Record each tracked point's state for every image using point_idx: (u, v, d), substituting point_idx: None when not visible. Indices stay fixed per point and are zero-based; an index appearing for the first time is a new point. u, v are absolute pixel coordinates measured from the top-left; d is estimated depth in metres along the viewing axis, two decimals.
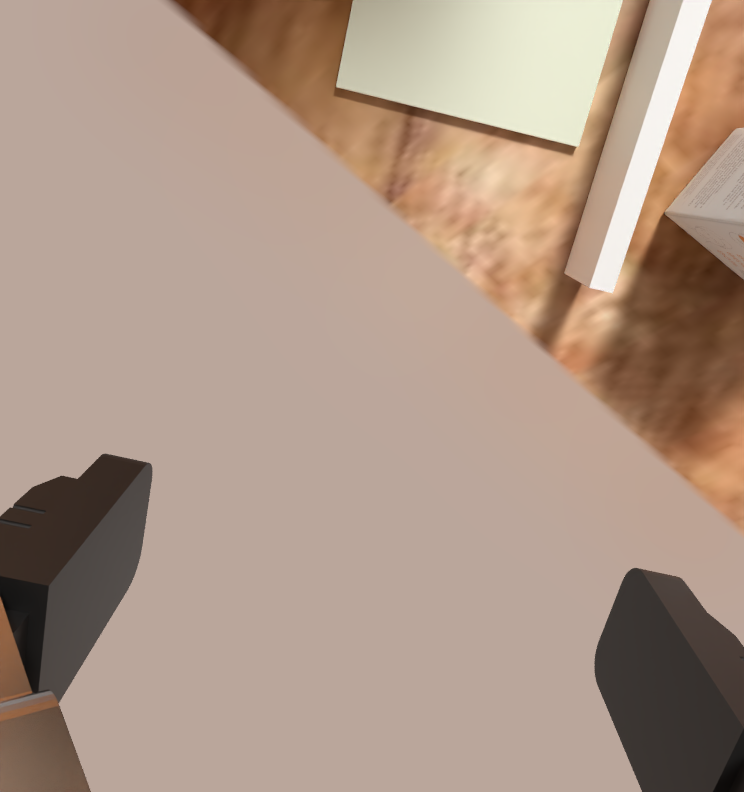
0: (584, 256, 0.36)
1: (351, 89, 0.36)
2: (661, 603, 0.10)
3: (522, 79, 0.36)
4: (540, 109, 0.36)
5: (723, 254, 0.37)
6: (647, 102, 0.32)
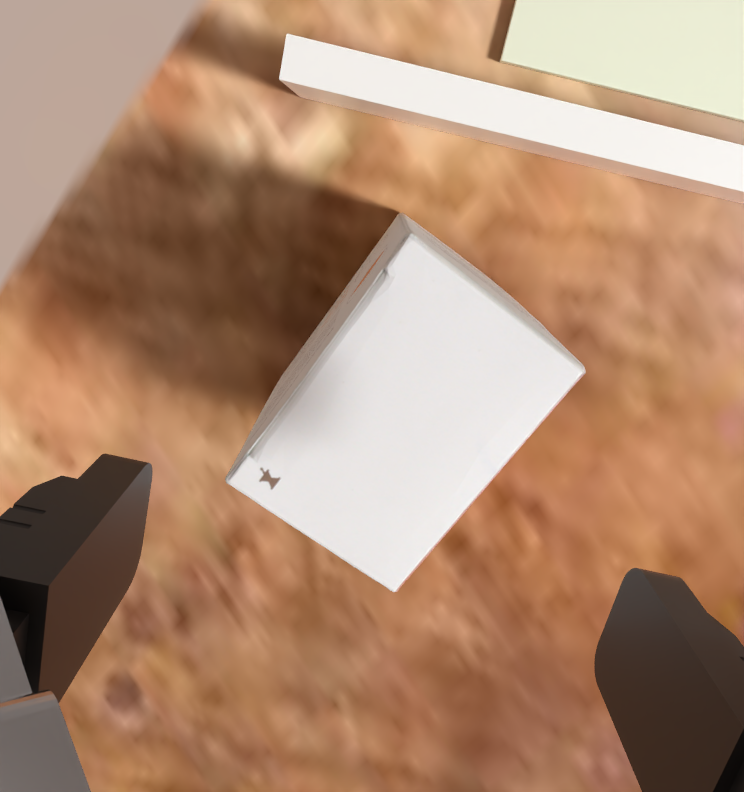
0: None
1: None
2: (661, 603, 0.10)
3: None
4: None
5: (343, 293, 0.25)
6: (582, 107, 0.20)
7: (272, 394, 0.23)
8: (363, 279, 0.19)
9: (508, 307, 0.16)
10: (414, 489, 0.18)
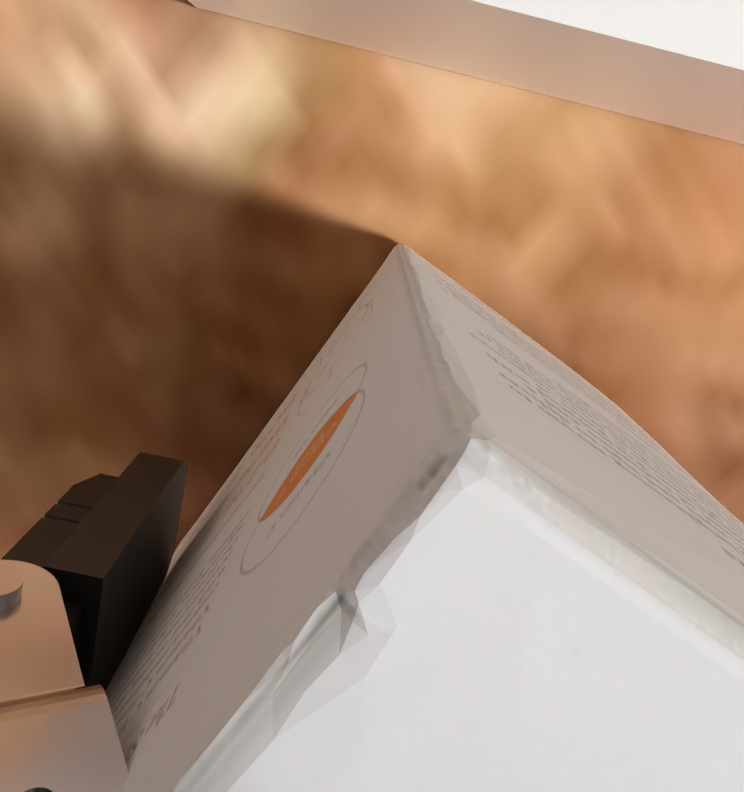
0: None
1: None
2: None
3: None
4: None
5: (284, 411, 0.12)
6: None
7: None
8: (294, 481, 0.06)
9: None
10: None
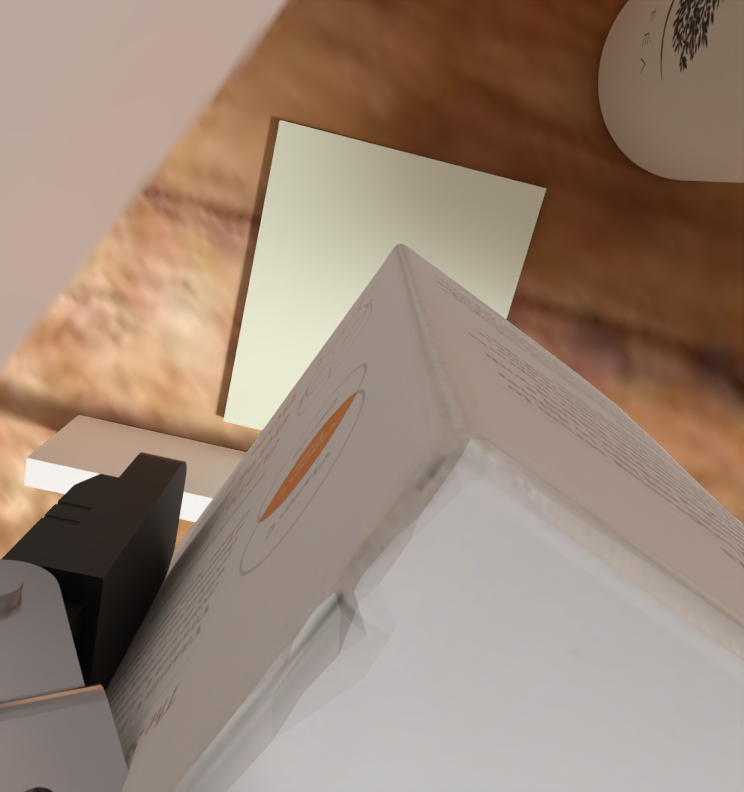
0: (84, 442, 0.29)
1: (276, 141, 0.28)
2: None
3: (293, 354, 0.30)
4: (262, 376, 0.31)
5: (284, 411, 0.12)
6: None
7: None
8: (293, 481, 0.06)
9: None
10: None
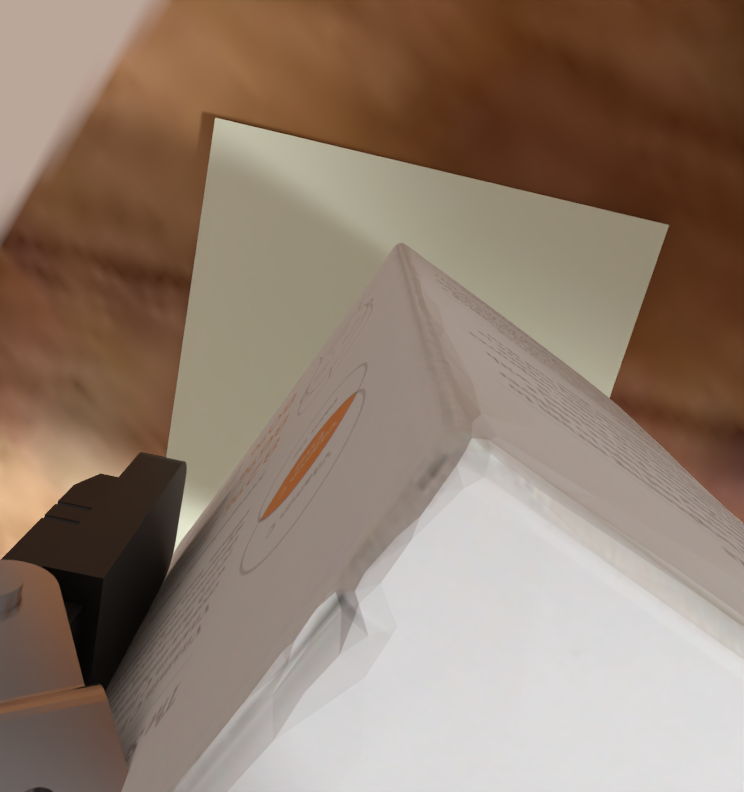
0: None
1: (211, 154, 0.16)
2: None
3: None
4: None
5: (284, 411, 0.12)
6: None
7: None
8: (294, 480, 0.06)
9: None
10: None
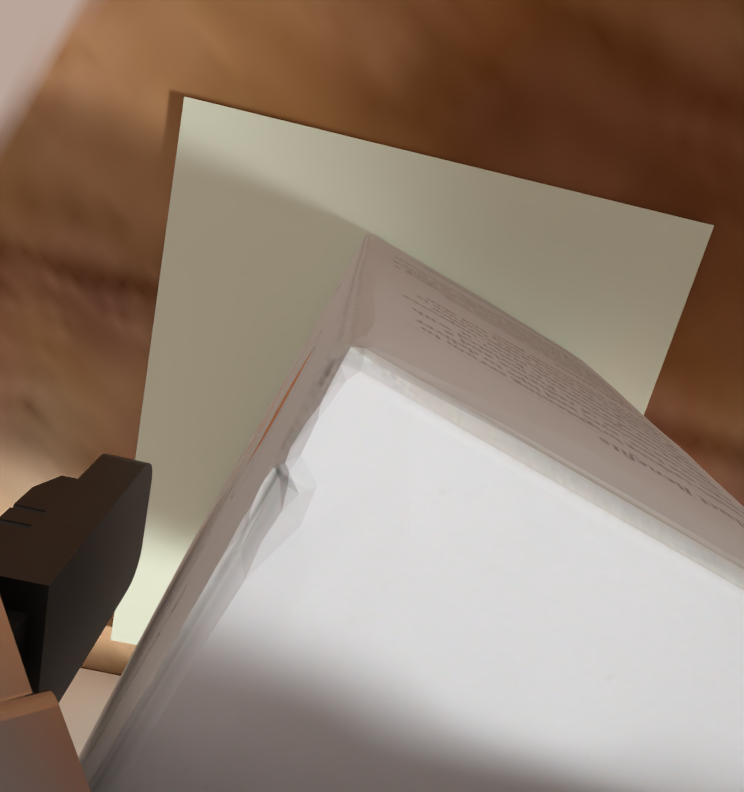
0: None
1: (180, 139, 0.14)
2: None
3: None
4: (175, 566, 0.17)
5: (278, 392, 0.13)
6: None
7: None
8: (269, 426, 0.08)
9: (689, 537, 0.05)
10: None
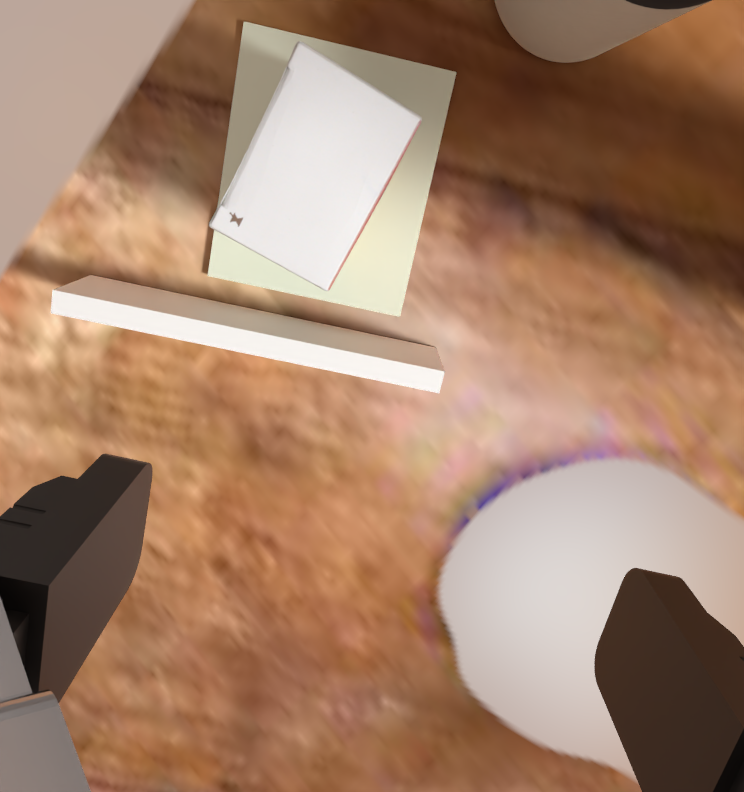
0: (96, 287, 0.37)
1: (242, 38, 0.35)
2: (661, 603, 0.10)
3: None
4: None
5: None
6: (227, 324, 0.36)
7: None
8: None
9: (367, 82, 0.27)
10: (327, 214, 0.28)
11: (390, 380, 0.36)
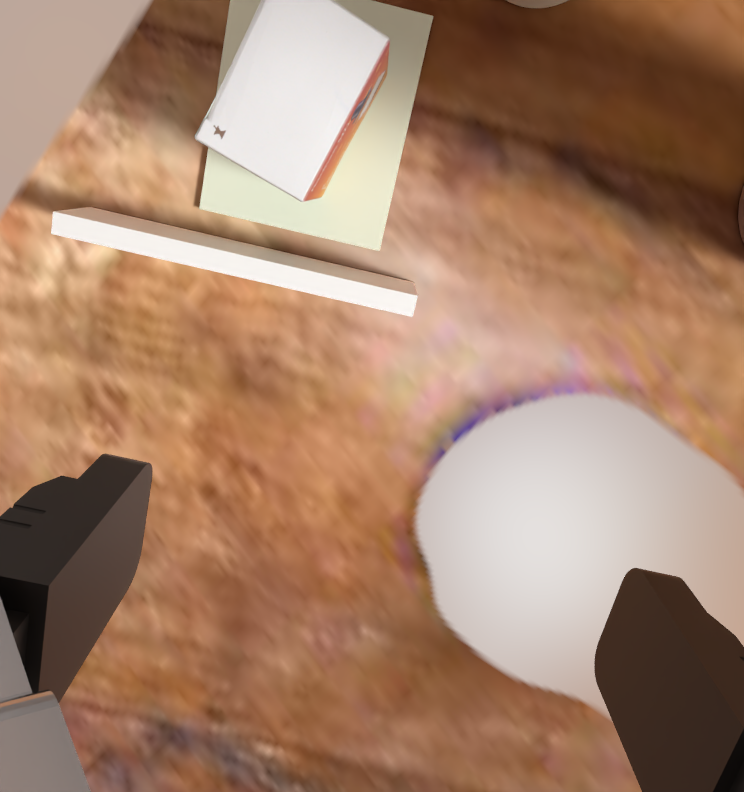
0: (94, 214, 0.40)
1: None
2: (661, 603, 0.10)
3: None
4: (227, 171, 0.41)
5: None
6: (215, 247, 0.38)
7: None
8: None
9: None
10: (303, 127, 0.30)
11: (367, 303, 0.39)
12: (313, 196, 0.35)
